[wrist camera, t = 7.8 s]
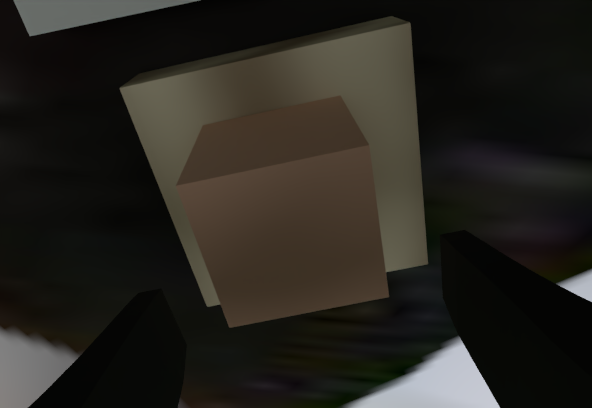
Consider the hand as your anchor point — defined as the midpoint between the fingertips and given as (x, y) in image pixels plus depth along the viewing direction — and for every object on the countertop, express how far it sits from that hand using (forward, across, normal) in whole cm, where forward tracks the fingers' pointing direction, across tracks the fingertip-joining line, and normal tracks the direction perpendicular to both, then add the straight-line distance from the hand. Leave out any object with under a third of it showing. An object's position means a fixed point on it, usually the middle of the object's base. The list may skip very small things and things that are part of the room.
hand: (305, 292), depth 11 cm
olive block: (+9, 0, 0) cm, 9 cm away
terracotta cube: (+6, 0, -1) cm, 6 cm away
